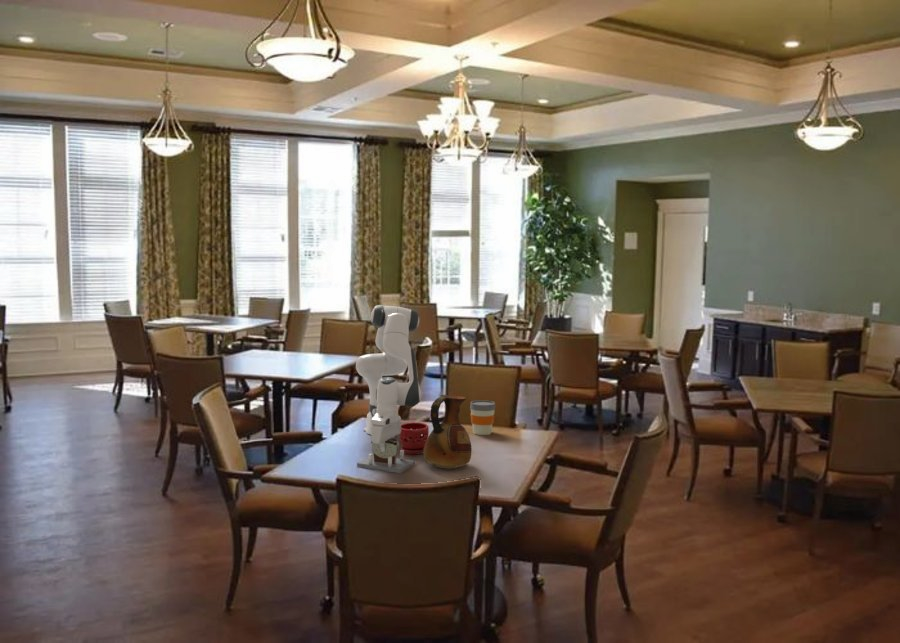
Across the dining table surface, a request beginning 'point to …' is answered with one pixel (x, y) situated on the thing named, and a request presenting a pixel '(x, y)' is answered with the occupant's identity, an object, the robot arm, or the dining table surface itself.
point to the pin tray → (398, 467)
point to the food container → (390, 451)
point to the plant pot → (413, 437)
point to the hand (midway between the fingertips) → (386, 449)
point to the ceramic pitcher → (447, 436)
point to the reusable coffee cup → (482, 416)
